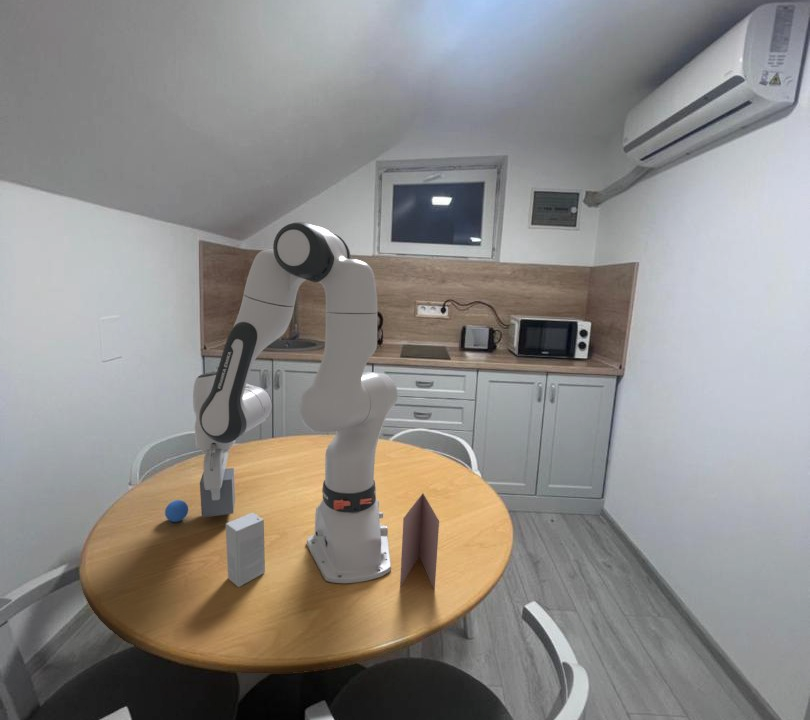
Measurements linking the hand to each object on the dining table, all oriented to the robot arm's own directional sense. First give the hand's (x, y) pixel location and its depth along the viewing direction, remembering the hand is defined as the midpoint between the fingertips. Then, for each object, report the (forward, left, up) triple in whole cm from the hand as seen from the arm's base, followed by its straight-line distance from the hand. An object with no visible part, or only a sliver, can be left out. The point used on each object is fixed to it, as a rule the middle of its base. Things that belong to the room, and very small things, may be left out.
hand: (218, 490), depth 106 cm
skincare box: (-24, -8, -7) cm, 27 cm away
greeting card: (-32, -43, -7) cm, 54 cm away
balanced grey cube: (0, 0, -5) cm, 5 cm away
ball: (+1, +9, -5) cm, 10 cm away
